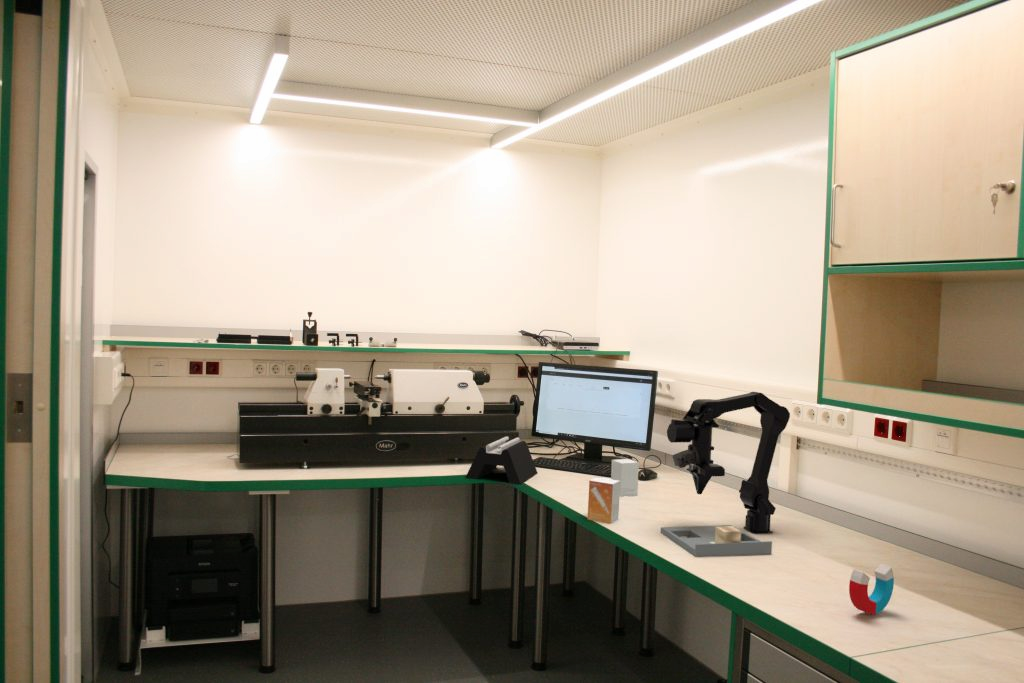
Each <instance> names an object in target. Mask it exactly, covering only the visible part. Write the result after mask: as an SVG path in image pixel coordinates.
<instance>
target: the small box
mask: <svg viewBox="0 0 1024 683" xmlns="http://www.w3.org/2000/svg"><path fill="white" fill-rule="evenodd" d="M588 483H589V484H588V501H587V505H588V506H587V520H588V521H595V522H599V523H605V524H610V525H611V524H613V523H615V522H617V521H618V520H619V516H620V514H619V512H620V481H619V480H612V479H611V478H604V477H594V478H591V479H590V480H589V482H588Z"/></svg>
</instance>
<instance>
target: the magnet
mask: <svg viewBox="0 0 1024 683" xmlns="http://www.w3.org/2000/svg"><path fill="white" fill-rule="evenodd" d="M874 576H875V584H874V585H875V586H874V588H873V590H872V592H871V594H870V595H869V594H868V592H869V591H868V586H869V584H870V583H869V582H870V579H871V577H870V576H869V575H868V574H866V573H865V572H864V571H861V570H857V569H855V568H854V569H852V572H851V575H850V578H849V585H848V586H849V587H848V591H849V593H848V594H849V598H850V601H851V603H852V605H853V607H854V608H856V609H857V610H858V611H861V612H864V613H865V614H868V615H877V614H879V613H881V612H882V611H884V609H885V608H886V607H887V606H888V604H889V603H890V600H891V598H892V596H893V592H894V591H893V590H894V586H895V585H894V584H895V583H894V582H895V581H894V580H895V579H894V571H893V568H892V567H891V566H889V565H886V564H883V563H880V564H879V566H877V568H876V569H875V570H874Z"/></svg>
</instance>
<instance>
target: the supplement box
mask: <svg viewBox="0 0 1024 683" xmlns="http://www.w3.org/2000/svg"><path fill="white" fill-rule="evenodd" d="M639 463H640V462H639V461H636V460H632V459H630V458H623V459H622V458H621V459H620V458H619V459H618V458H617V459H611V472H610V473H611V474H610V479H612V480H619V481H620V496H619V498H620V497H621V498H622V497H623V498H624V496H628V497H638V494H639V493H638V492H639V465H640V464H639Z"/></svg>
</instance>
